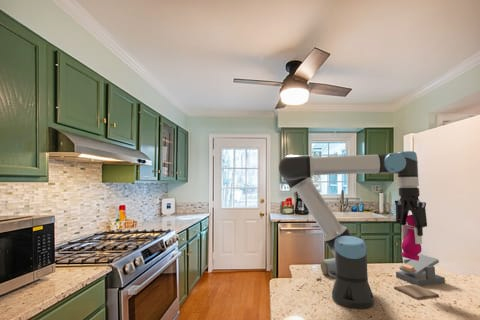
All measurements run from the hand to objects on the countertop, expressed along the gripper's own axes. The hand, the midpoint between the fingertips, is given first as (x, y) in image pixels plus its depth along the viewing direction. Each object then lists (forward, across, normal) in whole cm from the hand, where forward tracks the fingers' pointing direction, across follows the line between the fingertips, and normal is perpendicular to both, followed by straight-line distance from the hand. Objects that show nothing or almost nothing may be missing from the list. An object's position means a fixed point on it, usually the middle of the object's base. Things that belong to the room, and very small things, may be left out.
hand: (411, 241), depth 112 cm
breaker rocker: (+15, +11, -15) cm, 24 cm away
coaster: (+21, 0, 0) cm, 21 cm away
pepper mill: (+7, 0, +2) cm, 7 cm away
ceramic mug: (+21, +27, +21) cm, 40 cm away
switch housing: (+21, +11, -14) cm, 27 cm away
